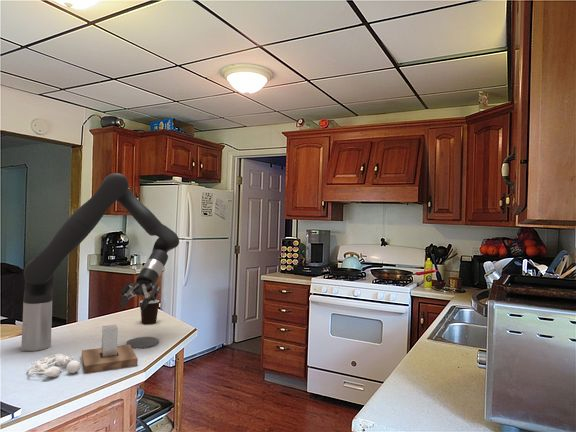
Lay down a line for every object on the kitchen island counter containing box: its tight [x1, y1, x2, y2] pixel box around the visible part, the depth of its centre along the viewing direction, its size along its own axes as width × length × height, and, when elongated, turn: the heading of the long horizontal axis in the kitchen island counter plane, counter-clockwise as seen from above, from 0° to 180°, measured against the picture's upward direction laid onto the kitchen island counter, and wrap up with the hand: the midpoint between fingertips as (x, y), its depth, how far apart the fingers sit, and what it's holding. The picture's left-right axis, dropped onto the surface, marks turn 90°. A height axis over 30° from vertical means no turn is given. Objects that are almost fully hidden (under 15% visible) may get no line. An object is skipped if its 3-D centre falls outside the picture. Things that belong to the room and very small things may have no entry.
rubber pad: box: [126, 336, 160, 349], centre depth 159 cm, size 12×12×1 cm
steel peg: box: [101, 324, 119, 358], centre depth 139 cm, size 4×4×12 cm
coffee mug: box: [139, 299, 160, 325], centre depth 190 cm, size 12×9×10 cm
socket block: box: [80, 344, 139, 374], centre depth 139 cm, size 16×16×2 cm
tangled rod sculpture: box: [26, 353, 82, 378], centre depth 131 cm, size 19×14×4 cm
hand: (131, 307), depth 150 cm, fingers open, 8 cm apart
